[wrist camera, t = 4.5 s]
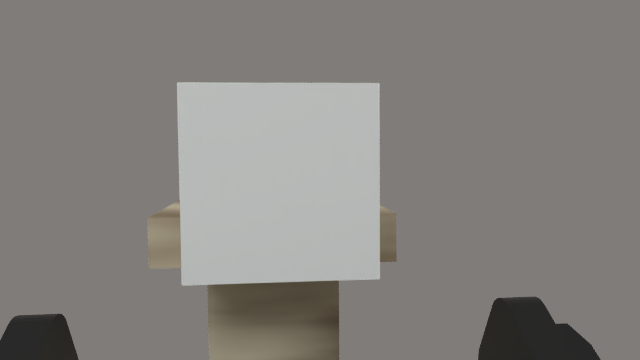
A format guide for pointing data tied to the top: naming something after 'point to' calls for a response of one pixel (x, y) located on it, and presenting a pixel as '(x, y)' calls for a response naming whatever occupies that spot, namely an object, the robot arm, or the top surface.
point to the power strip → (279, 182)
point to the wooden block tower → (265, 303)
